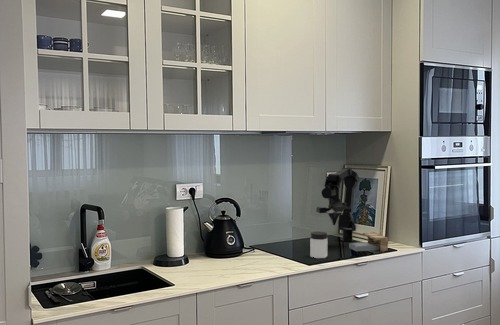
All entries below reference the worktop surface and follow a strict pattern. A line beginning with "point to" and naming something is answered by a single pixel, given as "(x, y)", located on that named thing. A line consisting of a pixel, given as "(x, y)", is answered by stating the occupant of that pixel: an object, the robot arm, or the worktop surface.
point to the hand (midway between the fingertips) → (334, 225)
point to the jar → (318, 245)
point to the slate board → (364, 246)
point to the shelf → (378, 240)
